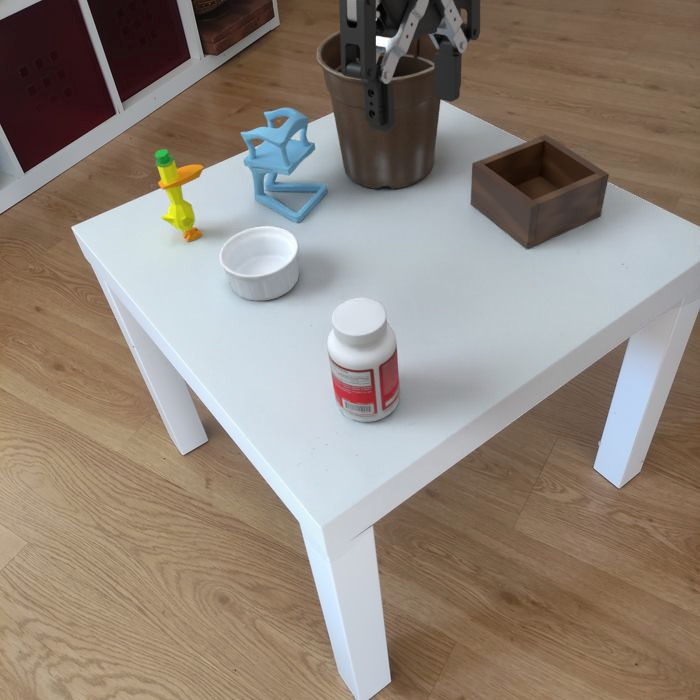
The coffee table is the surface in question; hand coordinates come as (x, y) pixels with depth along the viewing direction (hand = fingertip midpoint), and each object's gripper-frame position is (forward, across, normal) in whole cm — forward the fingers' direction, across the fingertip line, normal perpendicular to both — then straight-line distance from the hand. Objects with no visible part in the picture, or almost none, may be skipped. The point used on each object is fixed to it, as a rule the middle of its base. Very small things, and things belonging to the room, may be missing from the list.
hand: (415, 113), depth 60 cm
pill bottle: (+25, -9, -1) cm, 27 cm away
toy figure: (+21, -3, +34) cm, 40 cm away
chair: (+20, +10, +30) cm, 37 cm away
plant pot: (+18, +24, +24) cm, 38 cm away
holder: (+20, +26, +3) cm, 33 cm away
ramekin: (+22, -3, +20) cm, 30 cm away
